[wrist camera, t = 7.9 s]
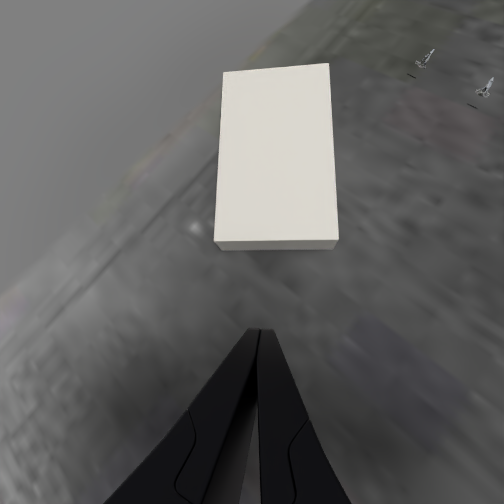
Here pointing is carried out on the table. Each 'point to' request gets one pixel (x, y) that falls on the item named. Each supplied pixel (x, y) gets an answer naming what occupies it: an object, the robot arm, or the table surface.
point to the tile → (276, 161)
